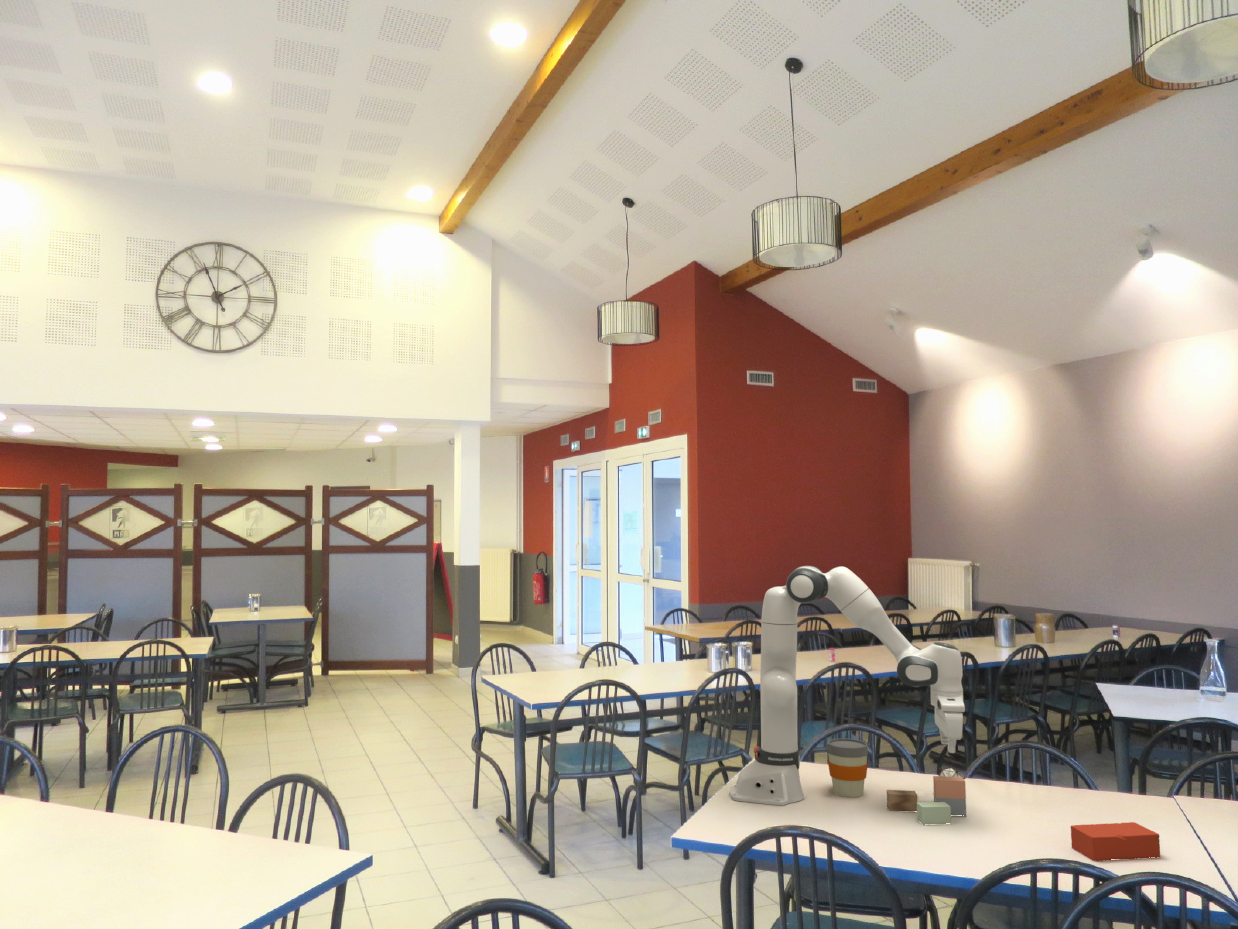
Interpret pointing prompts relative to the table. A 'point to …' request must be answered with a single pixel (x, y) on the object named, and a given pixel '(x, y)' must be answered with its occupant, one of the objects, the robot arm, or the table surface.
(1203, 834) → the table surface
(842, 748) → the reusable coffee cup
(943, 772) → the game die
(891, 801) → the walnut block
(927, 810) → the sage block
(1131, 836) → the brick
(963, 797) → the terracotta block
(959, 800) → the slate block
